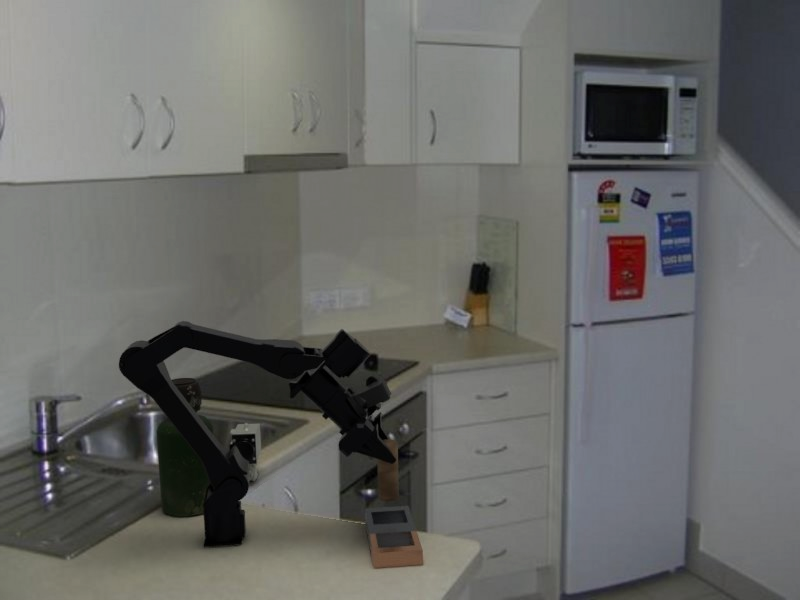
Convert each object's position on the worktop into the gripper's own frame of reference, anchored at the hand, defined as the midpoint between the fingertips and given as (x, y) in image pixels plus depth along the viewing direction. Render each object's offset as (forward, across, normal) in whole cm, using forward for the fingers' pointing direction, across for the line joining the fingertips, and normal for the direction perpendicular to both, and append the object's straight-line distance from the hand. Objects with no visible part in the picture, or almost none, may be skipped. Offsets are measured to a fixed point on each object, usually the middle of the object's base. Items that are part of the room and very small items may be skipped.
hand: (395, 458), depth 159 cm
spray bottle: (-19, +12, +39) cm, 45 cm away
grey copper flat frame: (+9, -4, +10) cm, 14 cm away
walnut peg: (+4, 0, +6) cm, 7 cm away
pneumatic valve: (-14, +29, +34) cm, 46 cm away
